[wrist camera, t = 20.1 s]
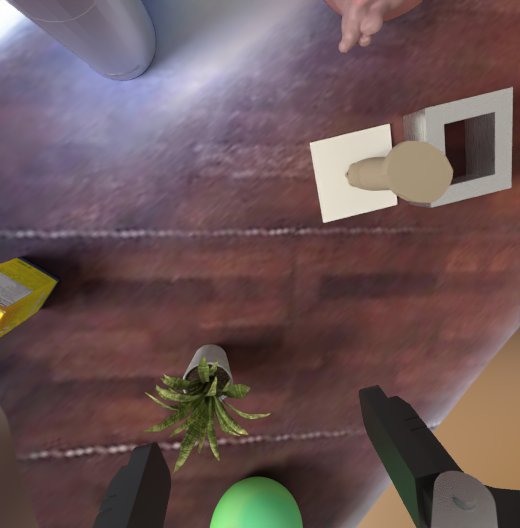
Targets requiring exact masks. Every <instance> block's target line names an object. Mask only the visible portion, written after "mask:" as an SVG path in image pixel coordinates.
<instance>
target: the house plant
mask: <svg viewBox="0 0 520 528" xmlns="http://www.w3.org/2000/svg"><path fill="white" fill-rule="evenodd" d="M164 376H165V379H166V380H165V379H161V378H160V379H161V380H162V381H163V382H164V383H165V384H166V385H167V386H169V387H171V388H172V389H176V390H184V393H178V392H175V391H174V390H172V389H169V388H168V390H169V391H168V390H165V389H162V388H159V387H157V389H156V388H155V387H154V388H155V389H156V390H157V391H158V394H159V395H160V396H161V397H162V398H163V399H165V400H170V401H179V402H182V403H180V404H179V405H176V406H167V405H165V404H163V403H161V402H160V401H158V400H157V399H156V398H154V397H153V396H151V395H149V394H148V393H146V392H145V393H146V394H147V395H149V396H150V397H151V398H152V399H153V400H154V401H155V402H157V403H158V404H159V405H161V406H163V407H165V408H168V409H171V410H178V411H177V412H175V413H173V414H171V415H170V416H169V417H168V418H167V419H166V420H165V421H163V422H162V423H161V424H158V425H156V426H154V427H152V428H150V429H148V430H146V431H145V432H157V431H161V430H164V429H166V428H168V427H170V426H172V425H174V424H175V423H177V422H179V421H181V420H182V419H183V418H185V417H186V416H187V415H188V413H189V412H190V411H191V410H192V409H193V408H194V409H193V411H192V413H191V415H190V416H189V417H188V418H187V419H186V421H185V422H184V423H183V424H182V425H181V426H179V427H178V428H177V429H175V431H174V432H173V433H172V434H171V436H170V437H172V436H174V435H176V434H177V433H179V432H181V431H182V430H183V429H185V428H186V430H188V431H187V433H186V435H185V437H184V439H183V441H182V443H181V447H180V455H179V458H178V460H177V462H176V465H175V471H174V472H176V471H177V470H178V469H179V468H180V467H181V466H182V465H183V463H184V462H185V460H186V459H187V457H188V456H189V454H190V452H191V450H192V448H193V446H194V444H195V442H196V440H197V439H198V437H199V435H200V433H201V439H200V443H199V449H198V454H199V453H200V451H201V449H202V447H203V444H204V441H205V437H206V432H207V430H208V439H209V443H210V446H211V449H212V451H213V453H214V455H215V456H216V458H217V459H218V461H219V453H218V450H217V439H216V435H215V425H214V411H215V414H216V416H217V419H218V421H219V424H220V426H221V428H222V430H223V431H224V432H226V433H228V434H233V435H236V436H240V435H238V434H235V433H234V432H233V431H234V430H235V431H237V432H238V433H241V434H246V435H250V434H248V433H247V432H246V431H245V430H243V429H242V428H240V426H239V425H238V423H237V422H236V421H235V420H233V419H232V418H231V417H230V416H229V415H228V413H227V411H226V409H225V408H224V406H223V405H222V403H221V401H223V402H224V403H225V404H226V405H227V406H229V407H230V408H231V409H232V410H234V411H235V412H236V413H238V414H239V415H241V416H243V417H245V418H248V419H255V418H260V417H265V416H267V415H269V414H259V415H251V414H245V413H242V412H240V411H238V410H236V409H235V408H233V407H232V406H230V405H229V404H227V403H226V402H225V401H224V399H225V398H226V397H234V398H239V399H241V398H244V397H245V396H246V395H247V394H248V392H249V390H250V388H249V386H248V387H247V386H245V385H243V384H236V385H233V379H232V375H231V371H230V367H229V363H228V359H227V356H226V353H225V351H224V350H223V349H222V348H221V347H219V346H217V345H213V344H212V345H205V346H203V347H201V348H200V349H198V350H197V352H196V354H195V356H194V357H193V359H192V361H191V363H190V365H189V367H188V369H187V371H186V373H185V375H184V377H183V379H180V378H175V377H169V376H166V375H165V374H164ZM156 386H157V385H156ZM213 408H214V410H213ZM270 414H271V413H270ZM172 431H173V430H172ZM170 437H168V438H170ZM219 462H220V461H219ZM174 472H173V473H174Z"/></svg>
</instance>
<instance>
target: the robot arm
mask: <svg viewBox="0 0 520 528" xmlns="http://www.w3.org/2000/svg"><path fill="white" fill-rule="evenodd" d="M5 1H7V2H8V3H9V4H11V5H12V6H13V7H15V8H16V9H17V10H18V11H20V12H21V13H22V14H24V15H25V16H26V17H27V18H29V19H30V20H31V21H32V22H34V23H35V24H36V25H38V26H39V27H40V28H41V29H43V30H44V31H45V32H46V33H48V34H49V35H50V36H52V37H53V38H54V39H55V40H57V41H58V42H59V43H60V44H62V45H63V46H64V47H66V48H67V49H68V50H69V51H71V52H72V53H73V54H74V55H76V56H77V57H78V58H79V59H81V60H82V61H83V62H84V63H86V64H87V65H88V66H90V67H91V68H92V69H93V70H95V71H96V72H97V73H99V74H101V75H102V76H104V77H107V78H110V79H112V80H120V81H123V80H130V79H133V78H136V77H138V76H139V75H141V74H142V73H143V72H144V71H145V70H146V69H147V68H148V67H149V65H150V63H151V62H152V60H153V57H154V53H155V48H156V36H155V30H154V26H153V23H152V21H151V19H150V17H149V15H148V13H147V11H146V9H145V7H144V5H143V3H142V1H141V0H5ZM359 398H360V404H361V410H362V416H363V422H364V425H365V428H366V431H367V434H368V436H369V438H370V440H371V442H372V444H373V446H374V448H375V450H376V452H377V453H378V455H379V457H380V459H381V461H382V463H383V465H384V467H385V469H386V470H387V472H388V474H389V476H390V478H391V480H392V482H393V484H394V486H395V488H396V489H397V491H398V493H399V495H400V497H401V499H402V501H403V503H404V505H405V507H406V508H407V510H408V512H409V514H410V516H411V518H412V519H413V522H414V524H415V525H416V527H417V528H520V490H510V489H498V488H493V487H489V486H486V485H484V484H482V483H481V482H480V481H479V480H477V479H476V478H474V477H472V476H470V475H469V474H466V473H464V472H463V471H462V470H461V469H460V468H459V466H458V465H457V464H456V463H455V461H454V460H453V459H452V457H451V456H450V455H449V454H448V452H447V451H446V450H445V449H444V447H443V446H442V445H441V443H440V442H439V441H438V440H437V438H436V437H435V436H434V435H433V433H432V432H431V431H430V429H429V428H427V426H426V424H425V423H424V422H423V421H422V419H420V418H419V415H418V414H417V413H416V412H415V410H414V409H413V408H412V407H411V405H410V404H408V403H407V402H405V401H404V400H402V399H401V398H399V397H398V396H394V397H390V398H387V396H386V395H385V393H384V392H383V391H382V389H381V388H380V387H379V386H378V385H376V386H372V387H368V388H364V389H360V390H359ZM170 490H171V476H170V471H169V468H168V466H167V464H166V461H165V459H164V457H163V454H162V452H161V450H160V447H159V445H158V444H157V443H156V442H153V443H150V444H146V445H142V446H138V447H135V448H134V450H133V452H132V455H131V457H130V460H129V463H128V465H126V466H122V467H121V468H120V470H119V471H118V472H117V474H116V475H115V477H114V478H113V479H112V481H111V482H110V485H109V487H108V490H107V492H106V495H105V497H104V501H103V502H102V505H101V507H100V510H99V514H98V515H97V517H96V520H95V522H94V525H93V527H92V528H163V525H164V520H165V515H166V510H167V505H168V500H169V495H170Z"/></svg>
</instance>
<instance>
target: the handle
mask: <svg viewBox="0 0 520 528" xmlns="http://www.w3.org/2000/svg"><path fill="white" fill-rule="evenodd" d="M345 177H346V178H347V179H348V182H349V185H350V186H352V187H357V188H359V189H363V190H369V191H382V190H391V191H392V192H393V193H394V194H395V195H397V196H399V197H401V198H403V199H405V200H407V201H413V202H423V203H433V202H435V201H437V200H438V199H439V198H440V197H441V196H442V195H443V194H444V193H445V192H446V190H447V189H448V187H449V185H450V183H451V181H452V177H453V169H452V167H451V165H450V163H449V161H448V159H447V157H446V156H445V155H444V153H442V152H441V151H440V150H439V149H437V148H436V147H434V146H433V145H431V144H429V143H426V142H421V141H405V142H401V143H399V144H398V145H396V146H395V147H393V149H392V150H391V151H390V152H389V153H388V155H387V156H386V157H372V158H366V159H363V160H360V161H358V162H356V163H353V164H351V165H350V166H349V169H348V171H347V172H346V173H345Z"/></svg>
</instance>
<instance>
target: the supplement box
mask: <svg viewBox="0 0 520 528" xmlns="http://www.w3.org/2000/svg"><path fill="white" fill-rule="evenodd" d="M58 282H59V279H58V278H56V277H55V276H53V275H51V274H49V273H48V272H46V271H44V270H43V269H41V268H39V267H38V266H36V265H34V264H32V263H31V262H29V261H27V260H25V259H24V258H22V257H18V258H15V259H12V260H10V261H7V262H4V263H2V264H0V337H1V336H3V335H4V334H6V333H7V332H9V331H10V330H11V329H13V328H14V327H16V326H17V325H19V324H20V323H21V322H23V321H24V320H26V319H27V318H29V317H30V316H32V315H33V314H35V313H36V312H37V311H39V310H40V309H41V308H42V306H43V305H44V303H45V301H46V300H47V299H48V297H49V296H50V294H51V292H52V291H53V289H54V288H55V286H56V285H57V283H58Z"/></svg>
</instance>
